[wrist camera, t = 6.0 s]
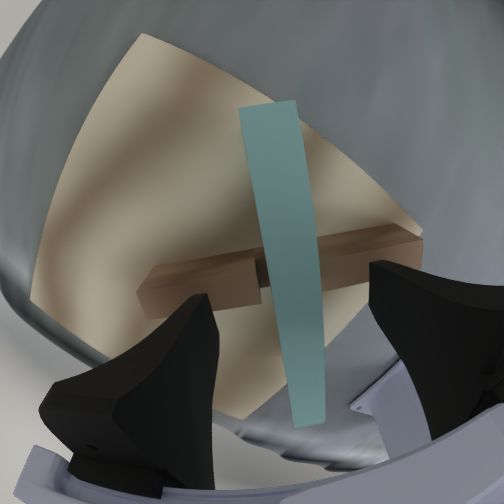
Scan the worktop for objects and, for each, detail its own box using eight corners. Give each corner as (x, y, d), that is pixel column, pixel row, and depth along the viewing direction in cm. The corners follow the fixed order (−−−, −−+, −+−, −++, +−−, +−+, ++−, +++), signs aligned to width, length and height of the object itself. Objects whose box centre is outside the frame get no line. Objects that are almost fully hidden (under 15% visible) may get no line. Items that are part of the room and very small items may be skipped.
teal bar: (241, 128, 12) (238, 108, 7) (273, 122, 12) (295, 99, 7) (282, 355, 17) (294, 428, 12) (305, 351, 17) (325, 422, 12)
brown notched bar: (394, 223, 14) (422, 239, 11) (394, 248, 15) (421, 268, 12) (153, 266, 15) (135, 291, 12) (162, 291, 15) (147, 320, 12)
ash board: (418, 227, 15) (423, 230, 14) (242, 414, 20) (242, 420, 20) (145, 36, 11) (142, 32, 10) (33, 296, 16) (30, 299, 16)
